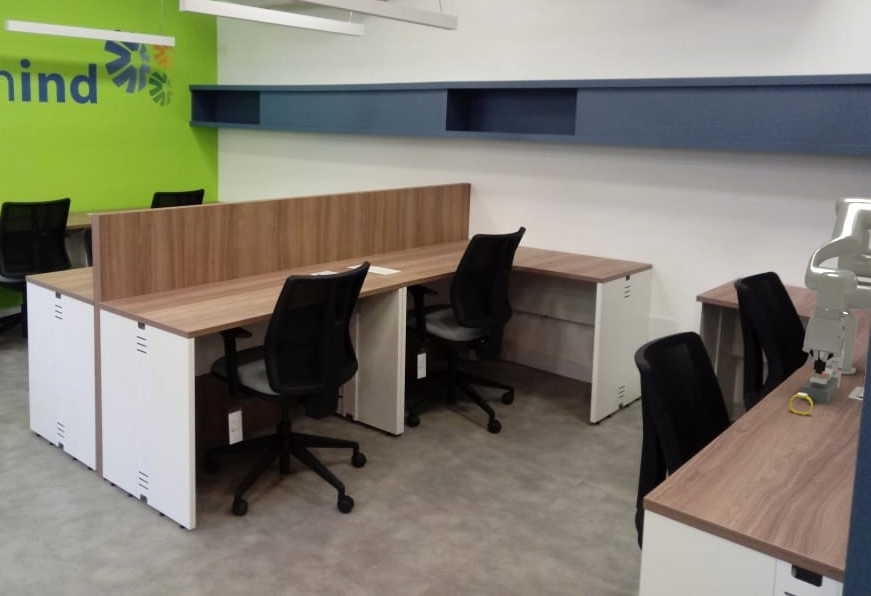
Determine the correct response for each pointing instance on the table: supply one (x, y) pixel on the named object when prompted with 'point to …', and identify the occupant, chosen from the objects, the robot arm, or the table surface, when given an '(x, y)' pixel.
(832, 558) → the table surface
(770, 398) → the table surface
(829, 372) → the rocker
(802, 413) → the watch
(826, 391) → the rocker switch panel
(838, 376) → the ink cartridge box
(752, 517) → the table surface
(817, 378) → the plate
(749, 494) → the table surface
